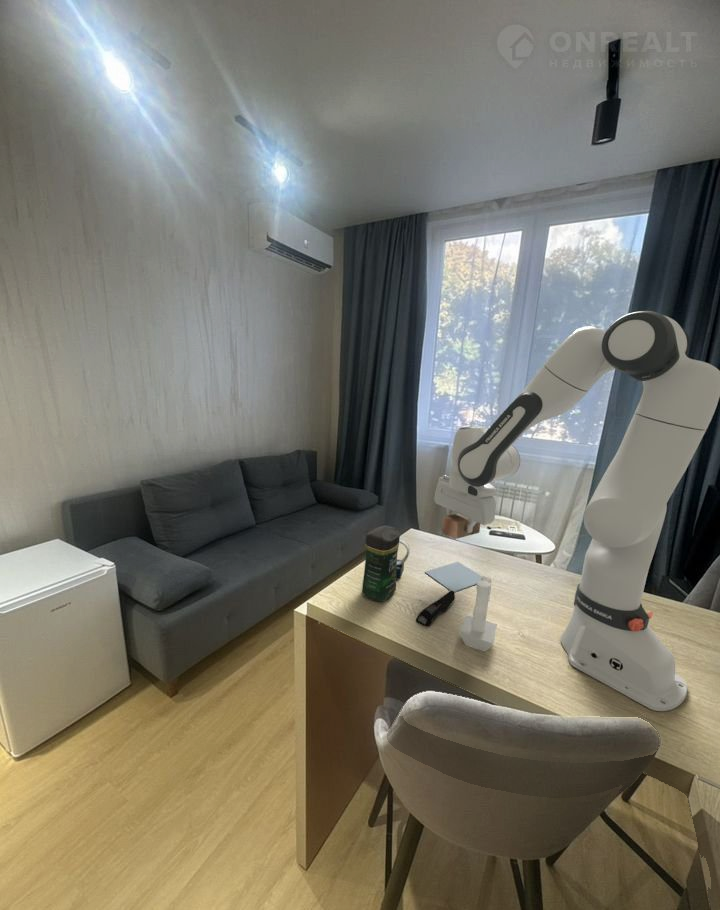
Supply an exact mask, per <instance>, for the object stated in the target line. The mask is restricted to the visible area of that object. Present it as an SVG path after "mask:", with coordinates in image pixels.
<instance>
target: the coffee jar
mask: <svg viewBox="0 0 720 910" xmlns="http://www.w3.org/2000/svg"><path fill="white" fill-rule="evenodd" d="M400 537H401V536H400V532H399V530H398V529H397V528H395V527H392V526H389V525H386V524H384V525H382V526H378V527H376V528H374V529H372V530H371V531H369V532H367V533H366V536H365V542H364V543H365V544H364V545H365V546H364V547H365V561H364V562H365V563H364V571H363V580H362V588H361V589H362V590H361V593H362V595H364V596H365V597H366V598H367V599H369V600H371V601H376V602H385V601H386V600H388V599H389V598H390V597H392V595H393V594H394V593H395V592H396V587H397V578H396V567H397V559H398V552H399V546H400V542H399V540H400V539H399V538H400Z"/></svg>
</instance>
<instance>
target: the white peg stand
mask: <svg viewBox="0 0 720 910" xmlns="http://www.w3.org/2000/svg"><path fill="white" fill-rule="evenodd" d="M491 591H492V579H491V578H490V576H486V575H484V576H482V577H481V581H478V582H477V584H476V597H475V605H474V606H473V607H474V608H473V612H472V616H471V615H469V614H464V617H463V619H462V622H461V626H460V629H459V631H458V632H459V633H458V634H459V635H460V637H461V639H462V640H463V641H462V642H463V644H464V645H465V646H467V647H470V648H473V649H476V650H479V651H482V652H484V653H486V652H487V650H489V649H490V648H491V647H492V646H493V645H494V642H495V639H496V638H495V637H496V633H497V626H498V623H494V622H492V621H488V620H487V614H488V607H489V602H490V599H491V597H490V596H491Z"/></svg>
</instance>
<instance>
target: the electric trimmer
mask: <svg viewBox="0 0 720 910" xmlns="http://www.w3.org/2000/svg"><path fill="white" fill-rule="evenodd" d="M455 593H456V592H454V591H450V590H448V592H446V594H444V595H442V596H441V597H440V598H439V599H437V600H435V601H433V602H432V603H430V605H428V606H427V607H425V608H423V610H421V611H420V612H419V613H418V615H417V617H416V620H415V621H416V623H417V624H419V625H421V626H422V627H425V628H428V627H430V626H431V624H432V620H433V619H435V618H436V617H437V616H438V615H439V614H440V613H442V612H446V611H447V610H448V609H449V608H450V607H451V605H452V604H453V602H454V601H455V599H456V594H455Z"/></svg>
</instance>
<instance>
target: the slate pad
mask: <svg viewBox="0 0 720 910" xmlns="http://www.w3.org/2000/svg"><path fill="white" fill-rule="evenodd" d="M424 573H425V574H426V575H428V576H429V577H430V578H432V579H433V580H435V581H436V582H437V583H438V584H440V585H441V586H443V587H444V588H446V589H447V590H448V591H454V593H456V592H460V591H462V590H465V589H468V588H470V587H473V586H477V582H478V581H481V577H483V576H482V575H481V574H479V573H478V572H476V571H474V570H473V569H471V568H469V567H468V566H467V565H465V564H463V563H461V562H459V561H455V562H452V563H449V564H445V565H442V566H439V567H435V568H433V569H430V570H425V571H424Z"/></svg>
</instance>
